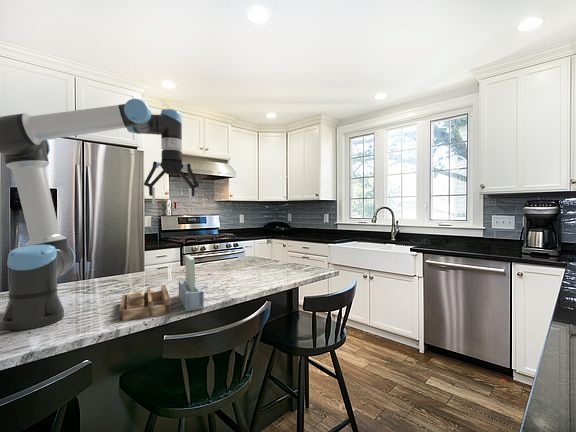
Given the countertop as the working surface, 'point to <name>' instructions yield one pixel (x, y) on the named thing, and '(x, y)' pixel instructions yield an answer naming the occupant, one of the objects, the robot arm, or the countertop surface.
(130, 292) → the offcut pine
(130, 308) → the offcut oak
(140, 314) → the rack
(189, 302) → the stand
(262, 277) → the countertop surface
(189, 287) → the sheet
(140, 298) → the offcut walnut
